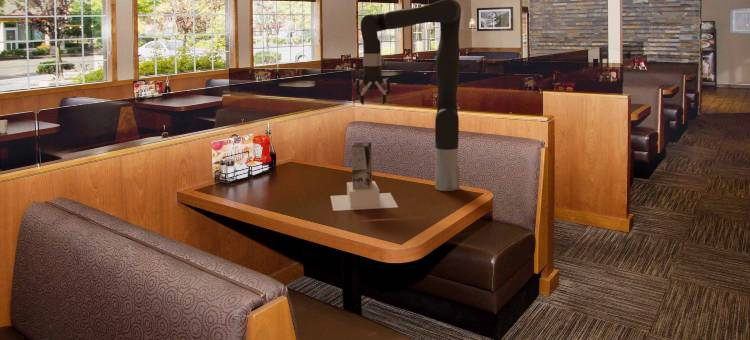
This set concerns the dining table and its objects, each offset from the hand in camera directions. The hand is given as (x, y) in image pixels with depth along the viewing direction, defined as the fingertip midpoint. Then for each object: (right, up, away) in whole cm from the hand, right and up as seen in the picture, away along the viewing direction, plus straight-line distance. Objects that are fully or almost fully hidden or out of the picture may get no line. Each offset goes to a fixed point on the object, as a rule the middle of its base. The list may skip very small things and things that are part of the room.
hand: (373, 104), depth 255 cm
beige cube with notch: (-4, -39, -20) cm, 44 cm away
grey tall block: (-4, -34, -21) cm, 40 cm away
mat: (-4, -40, -20) cm, 45 cm away
